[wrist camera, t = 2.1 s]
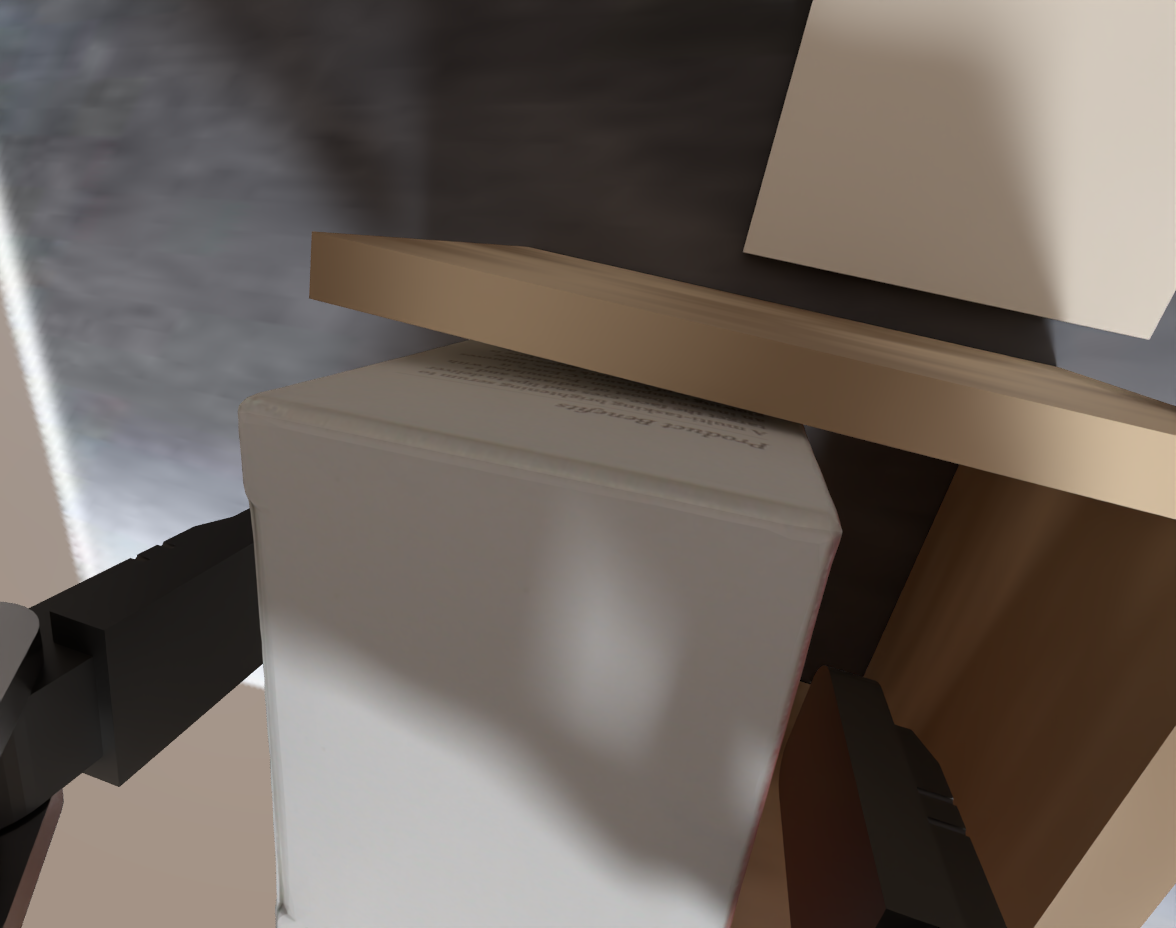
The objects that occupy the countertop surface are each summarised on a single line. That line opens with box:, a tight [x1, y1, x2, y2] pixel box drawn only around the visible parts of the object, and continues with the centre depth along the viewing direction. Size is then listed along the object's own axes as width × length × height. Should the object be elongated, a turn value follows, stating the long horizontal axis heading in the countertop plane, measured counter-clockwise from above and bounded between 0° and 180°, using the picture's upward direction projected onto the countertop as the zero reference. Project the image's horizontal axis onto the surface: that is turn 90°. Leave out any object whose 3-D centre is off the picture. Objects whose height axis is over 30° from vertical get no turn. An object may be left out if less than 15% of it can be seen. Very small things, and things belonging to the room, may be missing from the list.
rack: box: [309, 232, 1176, 928], centre depth 12 cm, size 12×10×8 cm
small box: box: [238, 340, 842, 928], centre depth 11 cm, size 8×6×10 cm
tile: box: [743, 0, 1176, 340], centre depth 11 cm, size 8×8×1 cm
